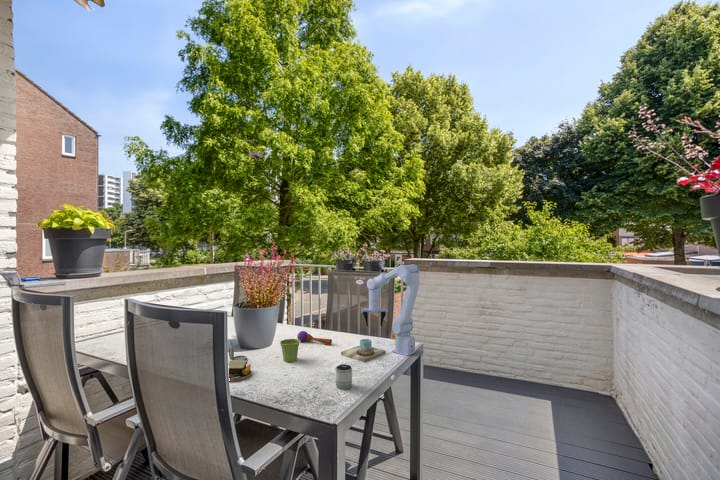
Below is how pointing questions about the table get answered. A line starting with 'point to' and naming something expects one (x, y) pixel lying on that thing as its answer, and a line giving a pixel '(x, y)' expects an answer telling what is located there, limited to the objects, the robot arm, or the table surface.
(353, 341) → the table surface
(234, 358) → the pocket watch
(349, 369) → the camera lens
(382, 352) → the gear board
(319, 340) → the kendama
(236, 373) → the toy sandwich meal
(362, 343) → the teal faceted ring
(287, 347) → the plant pot
